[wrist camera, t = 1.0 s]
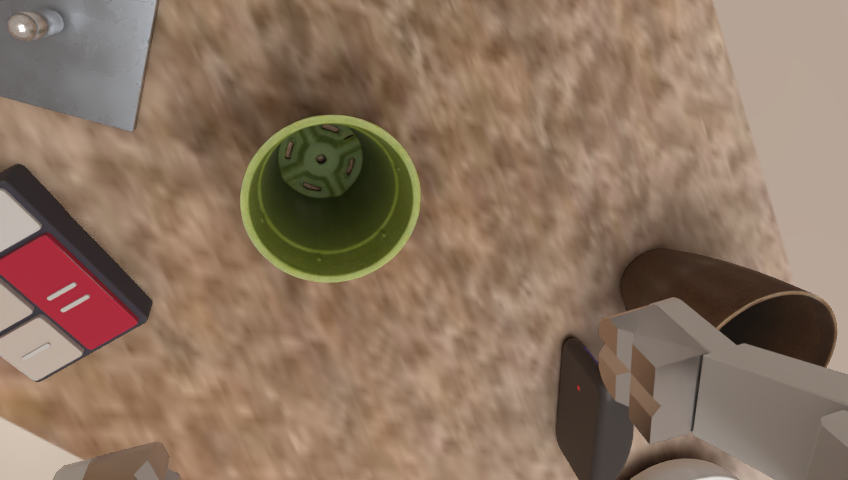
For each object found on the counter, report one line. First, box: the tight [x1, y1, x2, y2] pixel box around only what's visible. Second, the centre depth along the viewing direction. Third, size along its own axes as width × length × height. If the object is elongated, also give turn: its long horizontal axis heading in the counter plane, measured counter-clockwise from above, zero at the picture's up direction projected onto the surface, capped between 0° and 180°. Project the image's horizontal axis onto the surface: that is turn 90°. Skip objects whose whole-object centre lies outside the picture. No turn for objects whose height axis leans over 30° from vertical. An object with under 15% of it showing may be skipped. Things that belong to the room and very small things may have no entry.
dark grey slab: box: [557, 339, 633, 480], centre depth 61 cm, size 16×5×9 cm, turn 3°
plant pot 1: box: [240, 115, 421, 283], centre depth 41 cm, size 12×12×11 cm
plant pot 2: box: [620, 249, 837, 368], centre depth 54 cm, size 15×15×16 cm
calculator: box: [0, 164, 152, 382], centre depth 43 cm, size 11×4×15 cm
